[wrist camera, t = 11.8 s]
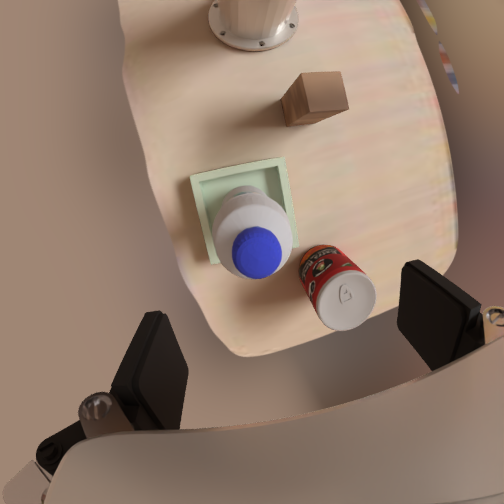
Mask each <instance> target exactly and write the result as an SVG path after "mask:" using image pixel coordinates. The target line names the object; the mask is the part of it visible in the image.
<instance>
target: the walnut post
mask: <svg viewBox="0 0 504 504" xmlns="http://www.w3.org/2000/svg"><path fill="white" fill-rule="evenodd" d="M281 102H282V107H283V111H284V116H285V121H286V126H287V127H288V126H296V125H304V124H313V123H317V122H319V121H321V120H324V119H326V118H329V117H331V116H333V115H336V114H338V113H341V112H343V111H346V110H348V109H349V106H348V101H347V97H346V92H345V88H344V84H343V80H342V76H341V72H311V73H301V74H300V75H299V77H298V78H297V79H296V80H295V82H294V83H293V84H292V85H291V87H290V88H289V89H288V90H287V92H286V93H285V94H284V96H283V97H282V98H281Z"/></svg>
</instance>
